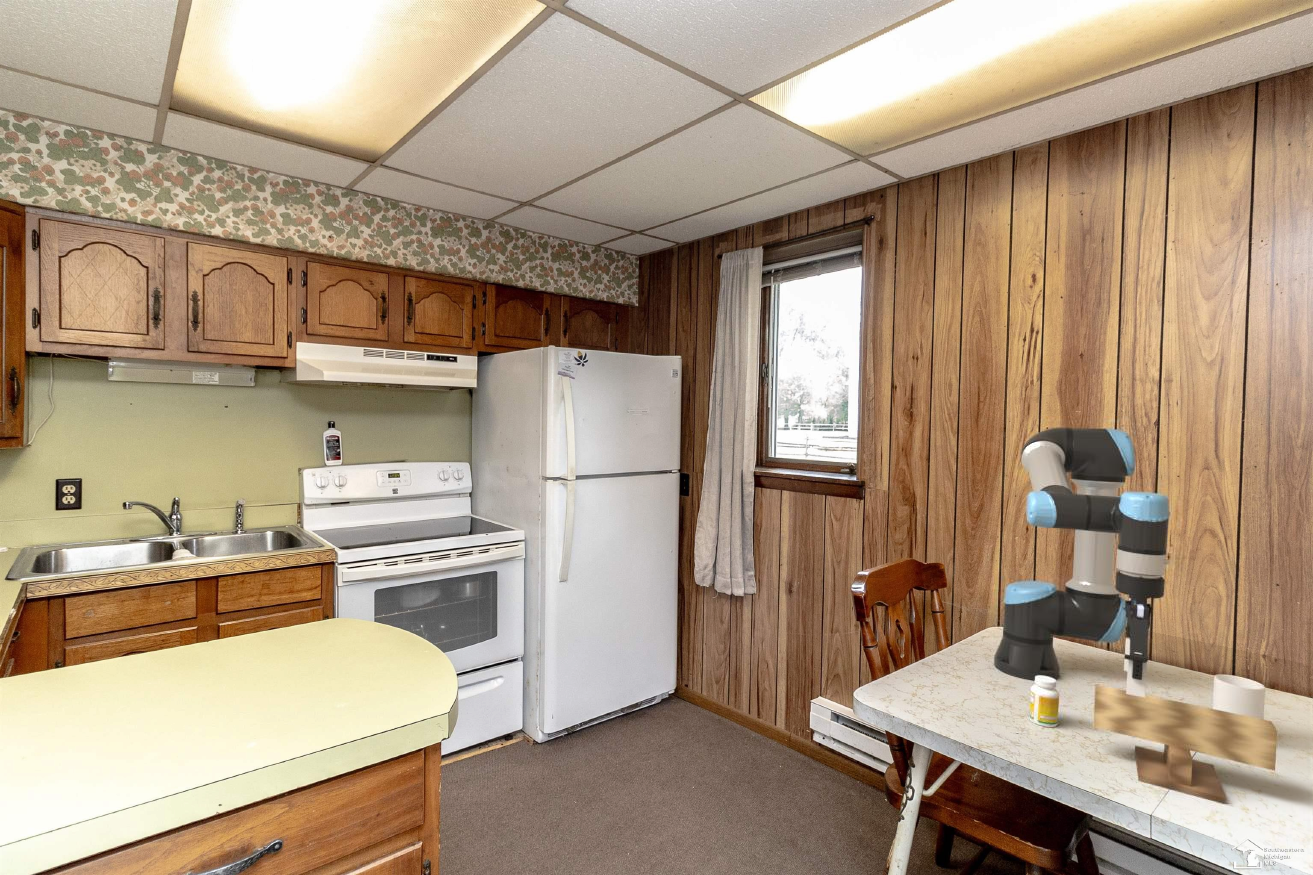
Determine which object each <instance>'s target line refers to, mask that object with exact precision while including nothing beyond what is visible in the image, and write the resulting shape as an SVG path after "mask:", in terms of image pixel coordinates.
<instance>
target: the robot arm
mask: <svg viewBox="0 0 1313 875" xmlns="http://www.w3.org/2000/svg"><path fill="white" fill-rule="evenodd" d="M1020 460H1021V464H1022V467H1023V468H1024V469H1025V471H1026V472H1027V473H1028V475H1029V478H1030V483H1031V488H1032V491H1030V492H1028V494H1027V498H1026V508H1025V510H1026V513H1025V514H1026V521H1027V523H1028V524H1029V525H1030V526H1035V527H1039V528H1045V529H1061V530H1063V529H1064V530H1071V531H1072V530H1074V547H1073V564H1072V566H1073V568H1072V577H1071V579H1069V580H1068V581H1066V583H1065V585H1064V586H1065V589H1064V590H1060V589H1057V586H1056V585H1055V584H1054V583H1051V582H1048V581H1041V580H1024V581H1023V580H1020V581H1015V582H1011V583H1009V584H1008V585H1007V586H1006V587H1005V591H1004V593H1005V594H1004V599H1003V604H1004V608H1003V609H1004V610H1003V611H1004V612H1003V624H1002V638H1001V639H1000V642H999V645H998V646H997V648H996V652H995V654H994V657H993V665H994V667H995V668H996V669H997V670H999V671H1001V672H1002V673H1005V674H1009V675H1011V676H1014V677H1016V678H1017V677H1018V678H1021V679H1027V680H1031V681H1032V680H1033V681H1035V676H1038V675H1041V676H1048V677H1051V678H1053V679H1055V680H1056V681H1057V680H1058V679H1059V678H1060V671H1061V670H1060V665H1059V663H1058V662H1059V661H1058V658H1057V655H1056V652H1055V648H1054V636H1056V637H1057V636H1058V637H1065V638H1072V639H1077V640H1078V639H1079V640H1085V641H1092V642H1095V643H1100V642H1101V643H1111V644H1112V643H1117V642H1118V641H1119V640H1120V639H1121V638H1122V636H1123V634H1124V632H1125V631H1126V632H1125V636H1126V638H1125V644H1124V646H1125V647H1124V660H1123V661H1124V664H1123V671H1124V672H1126V673H1127V676H1126V689H1125V691H1126V694H1130V695H1134V696H1139V697H1144V698H1145V695H1146V685H1147V684H1146V683H1147V682H1146V680H1147V665H1148V664H1147V663H1148V661H1149V657H1148V649H1149V648H1148V646H1149V629H1150V628H1151V617H1152V615H1153V614H1152V612H1153V608H1152V604H1151V603H1148V599H1162V598H1163V597H1164V595H1165V584H1166V580H1165V578H1164V577H1163V576H1164V575H1165V573H1166V566H1165V565H1170V564H1171V561H1170V559H1168V558H1167V549H1168V548H1167V546H1168V535H1169V534H1168V532H1169V522H1170V521H1169V520H1170V516H1171V512H1170V499H1169V497H1168V496H1167V495H1165V494H1162V493H1155V492H1149V491H1147V492H1146V491H1124V492H1122V493H1121V495H1119V496H1118V490H1119V489H1120V488H1121V487H1122V486H1124V485H1125V484H1126V477H1128V478H1129V477H1132V476H1133V475H1134V473H1135V467H1136V455H1135V448H1134V444H1133V440H1132V438H1131V436H1130V435H1129V434H1128V433H1127V432H1126V431H1124V430H1122V429H1114V428H1107V427H1105V428H1090V427H1089V428H1088V427H1087V428H1086V427H1062V426H1061V427H1059V426H1058V427H1051V428H1048V429H1045V430H1044V429H1043V430H1042V431H1039V432H1038V433H1036V434H1034V435H1032V436H1031V437H1030V438H1029V439H1028V440H1026V442H1025V443H1024V444H1023V446H1022V448H1021V451H1020ZM1067 473H1070V479H1069V477H1068V474H1067ZM1070 480H1071V481H1072V482H1073V483H1074V485H1075V486H1076V488H1077V490H1076V493H1074V491H1073V488H1072V485H1071V483H1070ZM1116 534H1118V536H1117V537H1118V540H1117V542H1118V543H1117V548H1116V559H1115V545H1116ZM1115 560H1116V562H1115ZM1114 563H1116V565H1115V564H1114ZM1114 566H1115V568H1116V569H1117V570H1118V571H1117V572H1116V573H1115V585H1114V583H1113V582H1114V579H1113V578H1114ZM1120 593H1121V594H1123V595H1127V596H1128V595H1129V596H1128V600H1126V599H1125V598H1123V597H1122V596H1120V595H1121V594H1120Z"/></svg>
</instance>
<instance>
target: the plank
mask: <svg viewBox="0 0 1313 875" xmlns="http://www.w3.org/2000/svg"><path fill="white" fill-rule="evenodd" d="M1093 704H1094V705H1093V706H1094V707H1093V728H1096V729H1099V730H1102V731H1103V730H1104V731H1109V732H1113V733H1115V734H1120V735H1123V736H1124V735H1125V736H1129V737H1133V738H1136V739H1137V738H1138V739H1141V740H1144V741H1145V740H1146V741H1150V742H1154V743H1156V744H1157V743H1159V744H1162V745H1164V744H1165V745H1170V746H1174V747H1178V748H1182V749H1186V750H1190V752H1191V751H1192V752H1195V753H1199V754H1204V755H1208V756H1210V757H1211V756H1212V757H1215V758H1220V759H1224V760H1228V761H1233V762H1236V763H1241V764H1245V765H1249V766H1253V767H1257V768H1262V769H1266V770H1270V771H1276V763H1277V762H1276V759H1277V747H1278V746H1277V741H1278V729H1277V728H1276V726H1275V725H1274V723H1273V721H1271V720H1268V719H1264V718H1263V719H1258V718H1253V717H1249V716H1244V715H1239V714H1234V713H1230V712H1225V711H1220V710H1215V709H1212V708H1210V707H1205V706H1200V705H1195V704H1192V703H1191V704H1190V703H1186V702H1181V701H1176V700H1172V699H1168V698H1161V697H1158V696H1153V695H1148V694H1145V698H1144V697H1139V696H1134V695H1130V694H1126V689H1125V690H1124V689H1120V688H1114V687H1111V686H1105V685H1101V684H1098V683H1097V684H1095V686H1094V703H1093Z"/></svg>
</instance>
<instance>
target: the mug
mask: <svg viewBox="0 0 1313 875" xmlns="http://www.w3.org/2000/svg"><path fill="white" fill-rule="evenodd" d="M1213 678H1214V679H1213V693H1212V694H1213V695H1212V708H1211V709H1215V710H1220V711H1225V712H1230V713H1234V714H1239V715H1244V716H1249V717H1253V718H1258V719H1263V720H1264V716H1265V715H1264V714H1265V700H1266V699H1265V698H1266V697H1265V695H1266V686H1265V685H1264V684H1262V683H1260V682H1258V681H1255V680H1253V679H1249V678H1245V677H1242V676H1237V675H1231V674H1215V675H1214V677H1213Z"/></svg>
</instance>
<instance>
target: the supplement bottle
mask: <svg viewBox="0 0 1313 875" xmlns="http://www.w3.org/2000/svg"><path fill="white" fill-rule="evenodd" d="M1056 688H1057V679H1056V680H1055V679H1053V678H1051V677H1048V676H1041V675H1038V676H1035V680H1034V684H1033V685H1032V686H1031V687H1030V694H1029V695H1030V696H1029V708H1028V710H1029V711H1028V719H1029V720H1030V722H1032V724H1035V725H1038V726H1040V727H1046V728H1055V727H1057V726H1058V720H1059V705H1060V704H1059V703H1060V693H1059V691H1058V690H1057V689H1056Z"/></svg>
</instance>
